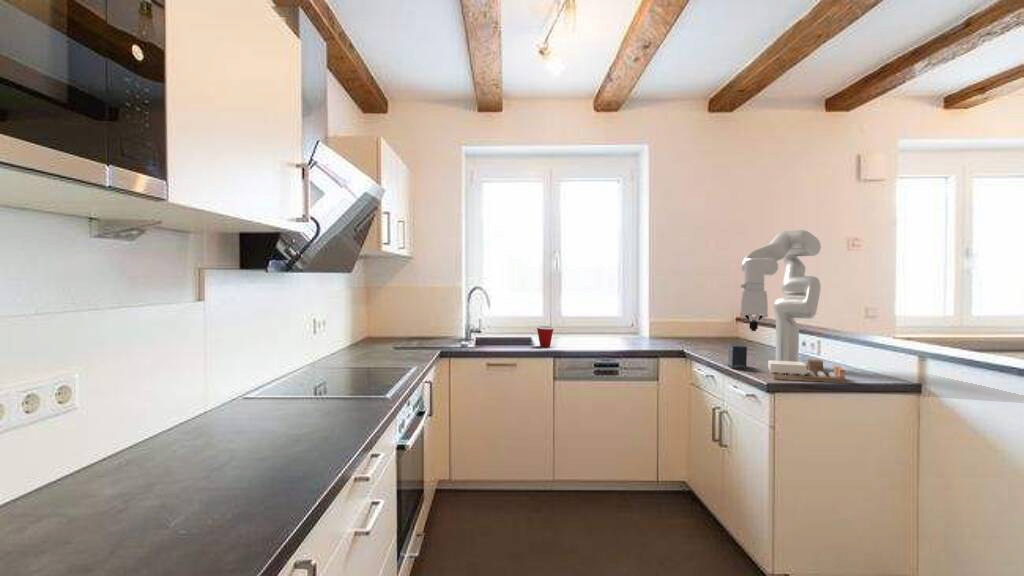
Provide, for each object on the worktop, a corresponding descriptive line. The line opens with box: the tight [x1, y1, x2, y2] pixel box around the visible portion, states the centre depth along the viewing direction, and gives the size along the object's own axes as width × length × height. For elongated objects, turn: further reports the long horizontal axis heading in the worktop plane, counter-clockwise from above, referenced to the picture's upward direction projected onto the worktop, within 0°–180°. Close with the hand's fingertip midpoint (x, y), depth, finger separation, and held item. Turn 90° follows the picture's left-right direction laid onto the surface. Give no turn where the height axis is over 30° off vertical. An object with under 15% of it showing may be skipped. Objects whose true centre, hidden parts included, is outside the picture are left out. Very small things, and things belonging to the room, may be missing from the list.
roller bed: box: [769, 364, 846, 384], centre depth 211 cm, size 12×25×5 cm, turn 69°
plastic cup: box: [535, 324, 555, 348], centre depth 303 cm, size 11×11×12 cm
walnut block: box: [806, 358, 824, 372], centre depth 218 cm, size 5×5×6 cm
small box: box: [727, 342, 748, 370], centre depth 235 cm, size 11×6×10 cm, turn 168°
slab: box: [767, 359, 807, 374], centre depth 213 cm, size 8×13×4 cm, turn 69°
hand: (753, 330), depth 217 cm, fingers closed
